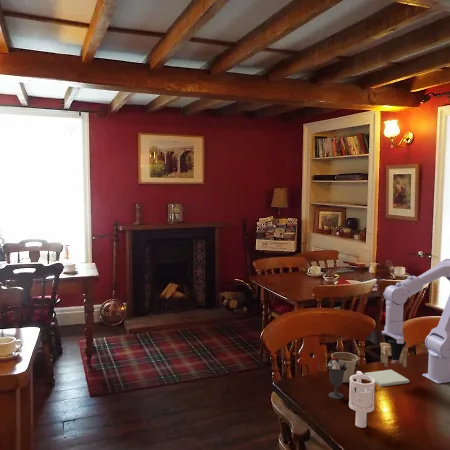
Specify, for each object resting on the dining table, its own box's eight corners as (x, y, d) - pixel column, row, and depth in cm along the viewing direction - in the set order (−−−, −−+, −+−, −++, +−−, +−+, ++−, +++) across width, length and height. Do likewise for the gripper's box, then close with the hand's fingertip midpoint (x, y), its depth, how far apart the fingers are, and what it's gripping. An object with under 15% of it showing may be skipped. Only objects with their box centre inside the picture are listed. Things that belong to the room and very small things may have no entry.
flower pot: (354, 375, 171) (355, 352, 170) (359, 385, 161) (360, 361, 161) (329, 373, 172) (329, 351, 171) (332, 384, 162) (333, 360, 162)
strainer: (368, 419, 138) (370, 370, 136) (376, 431, 131) (378, 380, 129) (345, 419, 137) (346, 370, 136) (352, 431, 130) (354, 380, 129)
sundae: (323, 391, 156) (324, 349, 155) (342, 391, 157) (343, 348, 155) (329, 400, 149) (330, 356, 148) (349, 400, 150) (350, 355, 149)
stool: (379, 361, 166) (380, 342, 166) (402, 362, 166) (402, 343, 166) (384, 366, 161) (384, 347, 161) (407, 367, 161) (407, 347, 160)
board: (391, 372, 174) (391, 369, 173) (409, 382, 164) (409, 380, 164) (363, 375, 170) (363, 373, 170) (380, 386, 160) (380, 383, 160)
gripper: (376, 314, 170) (375, 349, 171) (389, 325, 155) (388, 364, 156) (395, 314, 170) (394, 349, 171) (410, 325, 155) (409, 364, 156)
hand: (392, 356), depth 163 cm, fingers closed on stool, 5 cm apart
